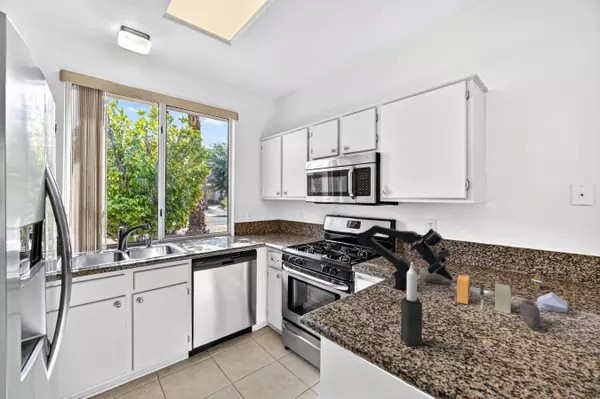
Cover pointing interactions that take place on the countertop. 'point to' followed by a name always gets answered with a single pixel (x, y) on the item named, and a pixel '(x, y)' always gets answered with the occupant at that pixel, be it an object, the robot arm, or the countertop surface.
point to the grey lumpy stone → (434, 277)
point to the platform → (537, 281)
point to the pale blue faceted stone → (552, 302)
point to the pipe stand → (500, 294)
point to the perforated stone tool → (530, 314)
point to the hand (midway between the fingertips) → (452, 279)
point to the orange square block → (463, 288)
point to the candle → (411, 312)
